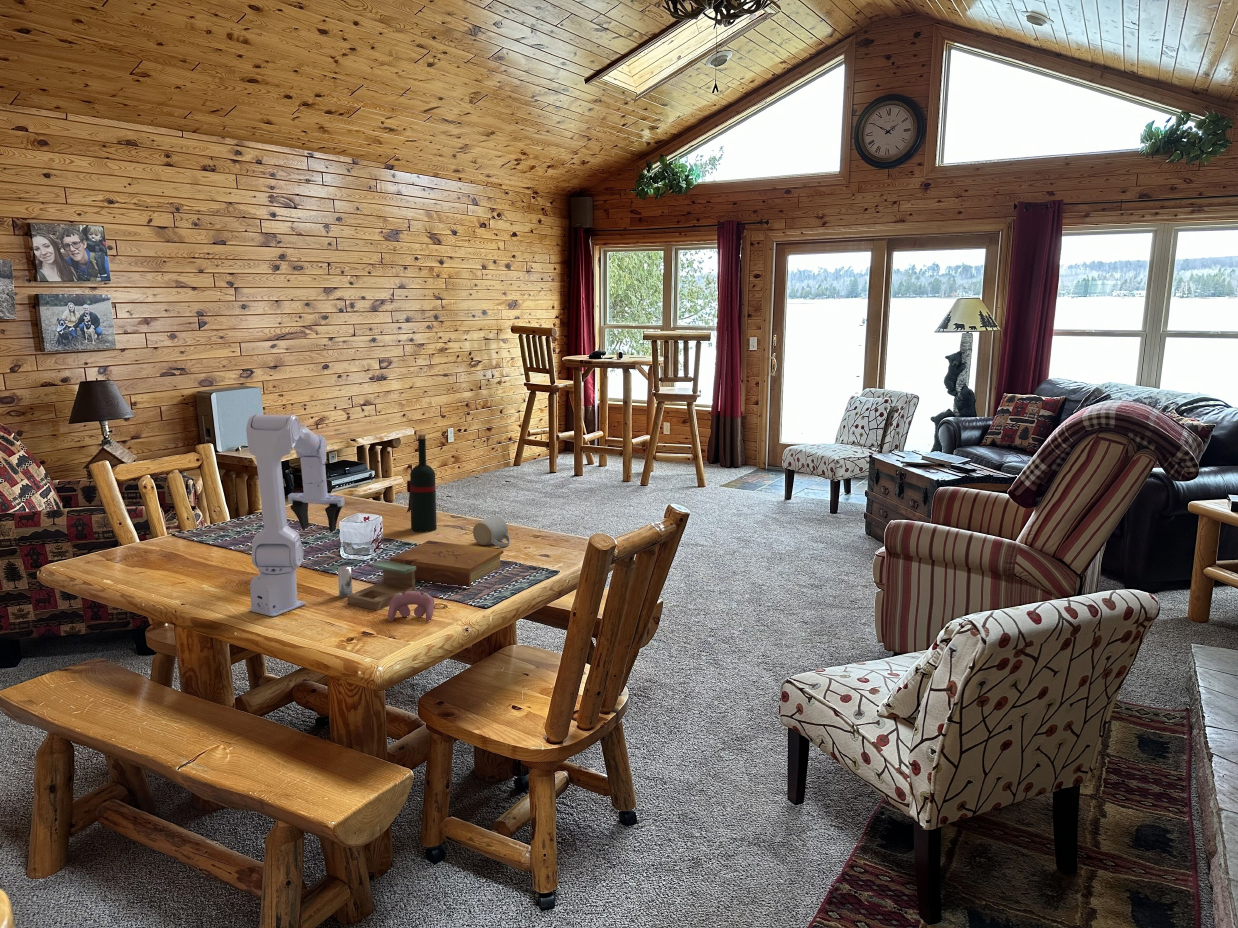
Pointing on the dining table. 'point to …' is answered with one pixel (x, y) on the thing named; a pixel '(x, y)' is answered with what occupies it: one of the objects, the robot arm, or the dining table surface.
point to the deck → (385, 586)
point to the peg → (345, 581)
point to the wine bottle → (422, 493)
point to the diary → (450, 562)
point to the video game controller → (411, 598)
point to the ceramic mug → (491, 532)
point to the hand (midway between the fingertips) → (319, 529)
